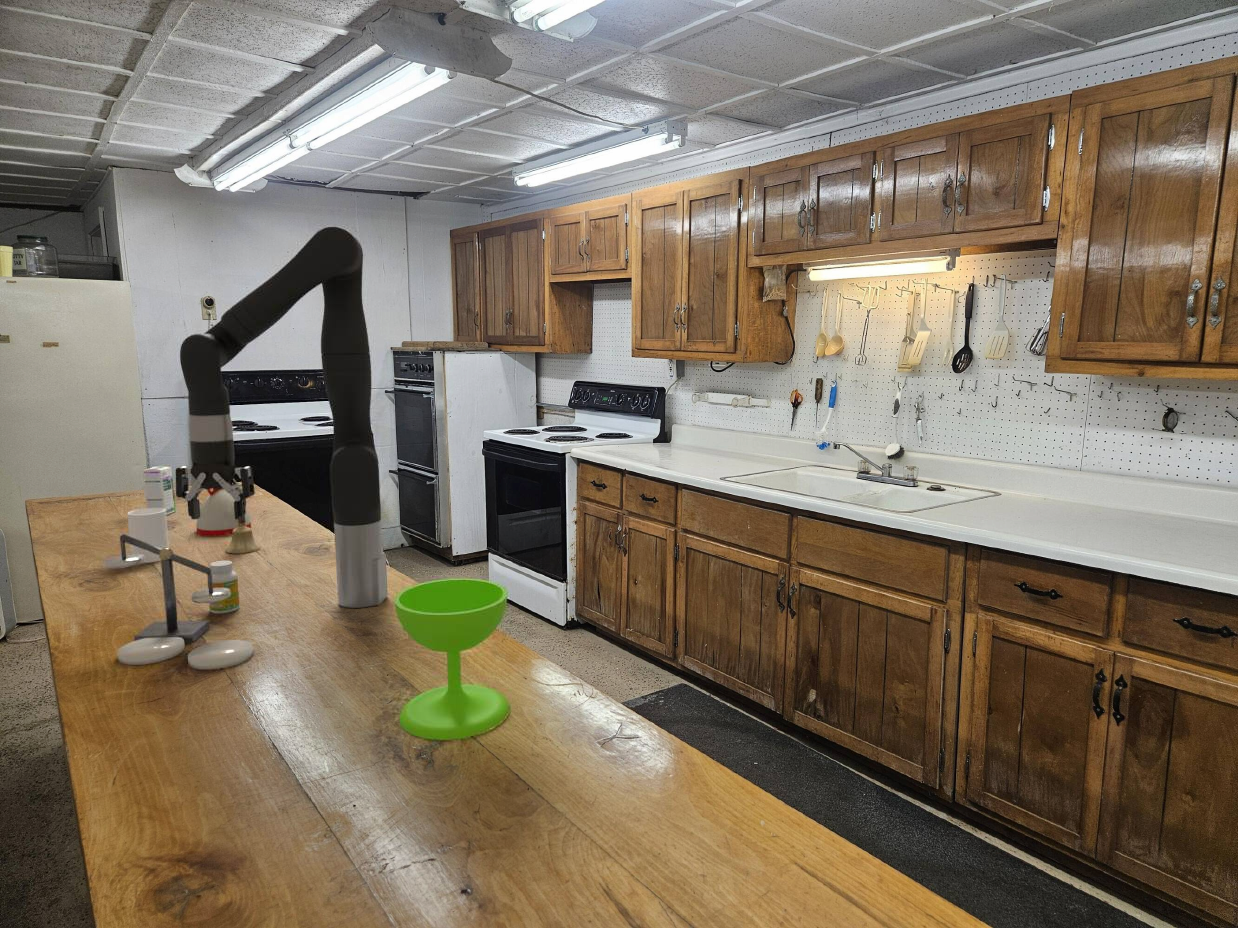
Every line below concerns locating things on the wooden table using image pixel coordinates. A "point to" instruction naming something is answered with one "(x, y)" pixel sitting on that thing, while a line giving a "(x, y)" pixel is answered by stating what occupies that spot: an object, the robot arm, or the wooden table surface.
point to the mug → (148, 530)
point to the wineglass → (452, 654)
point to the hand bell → (242, 539)
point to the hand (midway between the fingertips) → (217, 518)
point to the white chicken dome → (218, 514)
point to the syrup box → (159, 488)
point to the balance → (170, 591)
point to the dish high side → (150, 650)
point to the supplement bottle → (224, 586)
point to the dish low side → (220, 654)
